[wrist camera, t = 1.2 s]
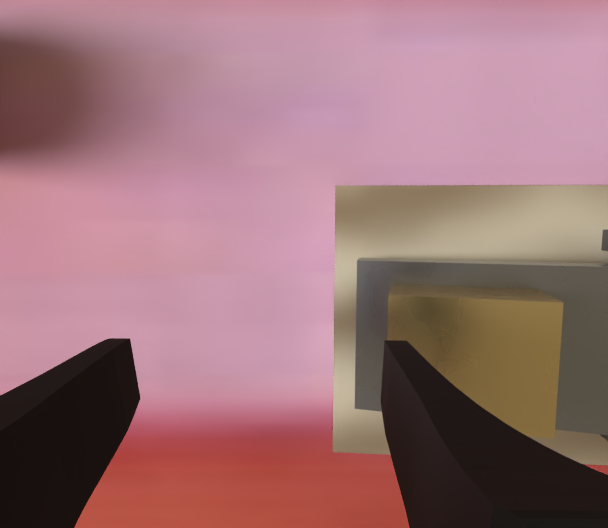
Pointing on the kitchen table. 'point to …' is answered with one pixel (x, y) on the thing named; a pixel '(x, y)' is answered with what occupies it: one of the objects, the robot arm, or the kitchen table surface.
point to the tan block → (488, 346)
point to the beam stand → (455, 246)
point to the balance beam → (500, 274)
